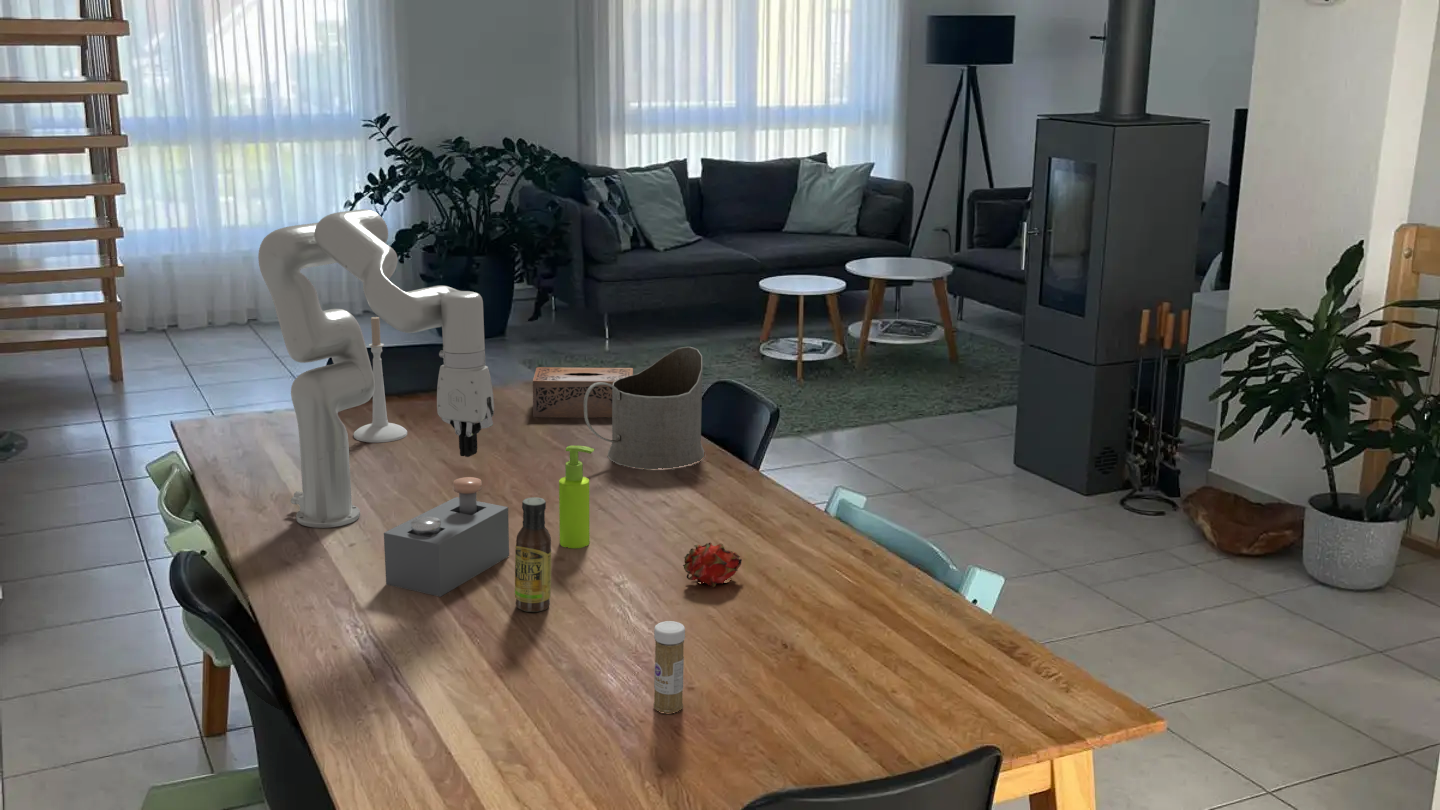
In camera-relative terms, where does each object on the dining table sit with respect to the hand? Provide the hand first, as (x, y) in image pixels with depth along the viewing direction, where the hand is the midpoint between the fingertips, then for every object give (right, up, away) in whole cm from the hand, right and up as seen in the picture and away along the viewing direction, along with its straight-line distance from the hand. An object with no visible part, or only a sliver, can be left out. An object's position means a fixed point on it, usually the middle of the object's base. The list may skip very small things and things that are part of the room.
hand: (468, 454), depth 258 cm
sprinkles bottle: (+39, -37, -50) cm, 73 cm away
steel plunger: (-6, -19, -7) cm, 21 cm away
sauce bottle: (+14, -26, -15) cm, 34 cm away
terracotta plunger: (-1, -12, +4) cm, 13 cm away
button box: (-4, -22, 0) cm, 22 cm away
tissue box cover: (+11, +8, +108) cm, 109 cm away
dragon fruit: (+46, -24, -3) cm, 52 cm away
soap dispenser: (+19, -18, +15) cm, 30 cm away
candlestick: (-37, +2, +82) cm, 90 cm away
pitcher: (+29, -3, +69) cm, 75 cm away
